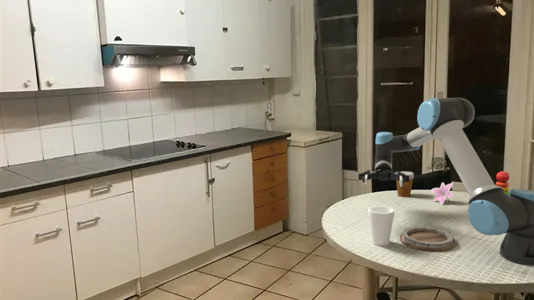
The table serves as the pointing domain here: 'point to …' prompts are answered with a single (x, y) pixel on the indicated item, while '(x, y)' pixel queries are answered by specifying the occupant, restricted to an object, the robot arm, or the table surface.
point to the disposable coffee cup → (405, 185)
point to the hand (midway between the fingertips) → (383, 182)
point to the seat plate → (427, 239)
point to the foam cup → (380, 224)
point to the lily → (442, 192)
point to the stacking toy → (503, 181)
